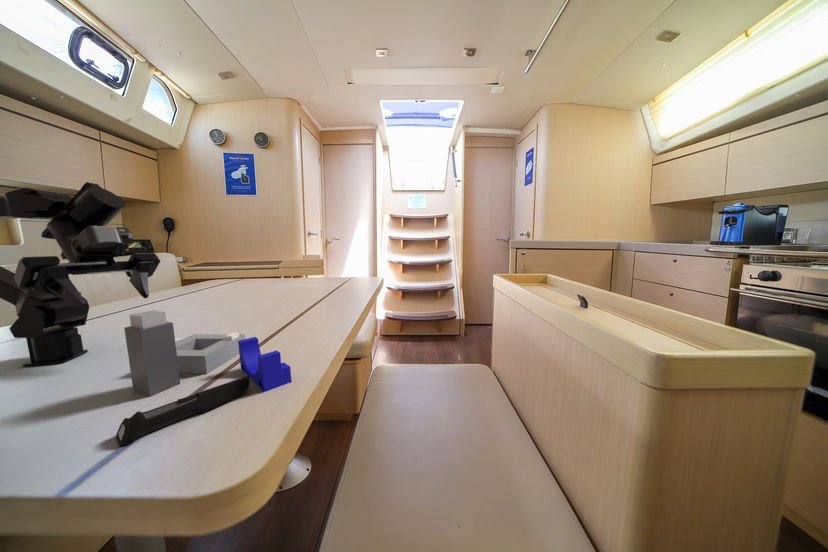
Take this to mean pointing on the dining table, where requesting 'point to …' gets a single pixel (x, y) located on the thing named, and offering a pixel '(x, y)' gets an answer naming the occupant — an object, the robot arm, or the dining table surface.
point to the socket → (206, 351)
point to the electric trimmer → (179, 410)
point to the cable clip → (263, 365)
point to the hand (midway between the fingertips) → (117, 301)
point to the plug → (152, 353)
